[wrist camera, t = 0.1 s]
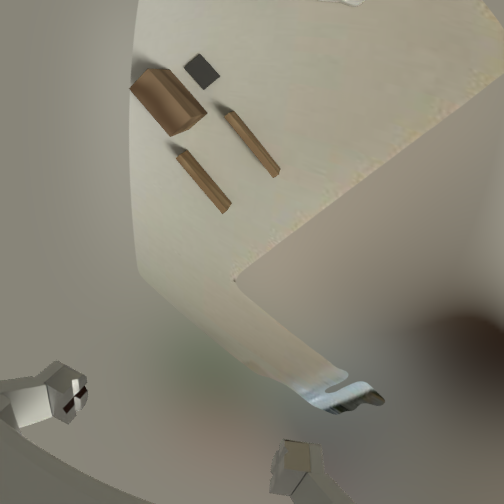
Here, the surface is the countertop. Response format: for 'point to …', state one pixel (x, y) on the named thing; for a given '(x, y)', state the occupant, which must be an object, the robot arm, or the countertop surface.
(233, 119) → the channel
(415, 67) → the countertop surface
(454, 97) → the countertop surface
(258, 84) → the countertop surface
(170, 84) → the walnut block
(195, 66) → the mat
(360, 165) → the countertop surface
